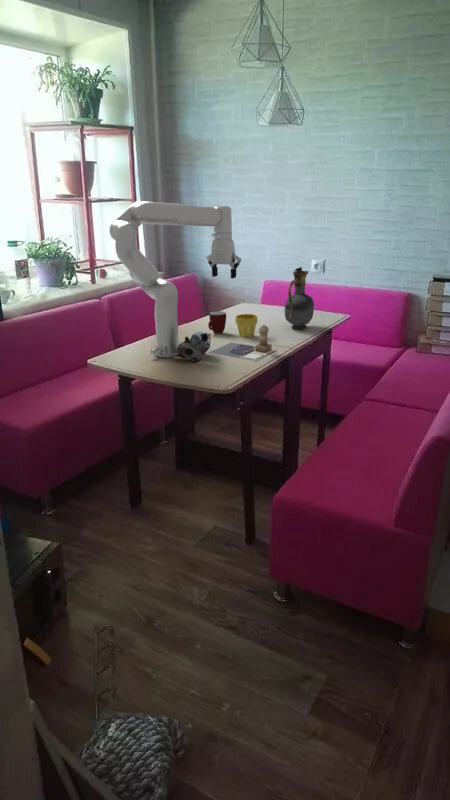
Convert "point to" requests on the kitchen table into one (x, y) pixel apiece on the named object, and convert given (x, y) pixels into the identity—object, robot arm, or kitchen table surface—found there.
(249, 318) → the plant pot
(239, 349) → the ink pad
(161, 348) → the robot arm
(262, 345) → the stamp
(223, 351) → the desk mat
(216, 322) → the mug
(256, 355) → the paper sheet
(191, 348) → the lucky cat figurine
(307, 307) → the pitcher
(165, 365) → the kitchen table surface
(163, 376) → the kitchen table surface
